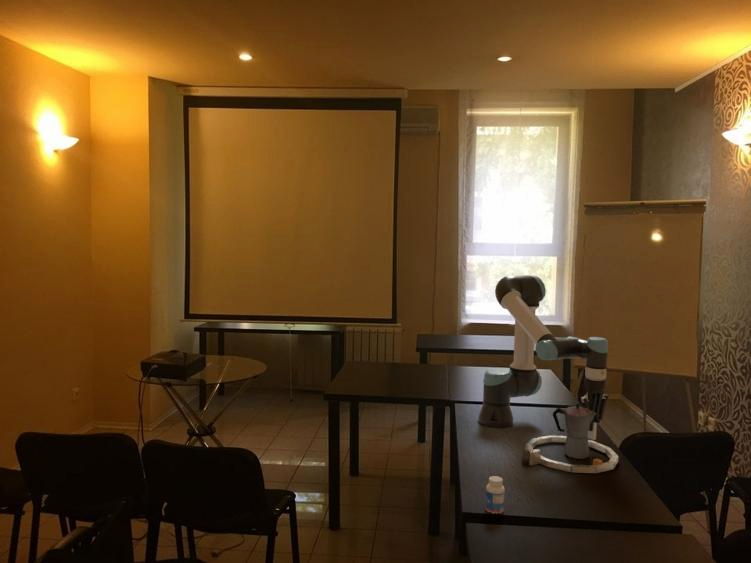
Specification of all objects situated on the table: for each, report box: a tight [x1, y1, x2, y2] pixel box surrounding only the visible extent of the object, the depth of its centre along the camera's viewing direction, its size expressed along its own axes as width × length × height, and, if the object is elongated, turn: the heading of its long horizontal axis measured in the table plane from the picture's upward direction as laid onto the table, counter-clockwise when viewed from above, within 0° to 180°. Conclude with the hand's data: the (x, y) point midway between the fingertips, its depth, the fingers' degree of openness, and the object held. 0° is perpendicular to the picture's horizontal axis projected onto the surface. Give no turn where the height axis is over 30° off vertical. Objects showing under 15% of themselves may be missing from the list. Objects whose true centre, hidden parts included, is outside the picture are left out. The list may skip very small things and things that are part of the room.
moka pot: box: [552, 403, 596, 460], centre depth 221 cm, size 10×15×20 cm, turn 77°
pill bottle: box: [485, 475, 505, 514], centre depth 177 cm, size 6×5×10 cm
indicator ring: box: [521, 435, 619, 474], centre depth 220 cm, size 32×39×5 cm
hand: (591, 438), depth 227 cm, fingers closed
